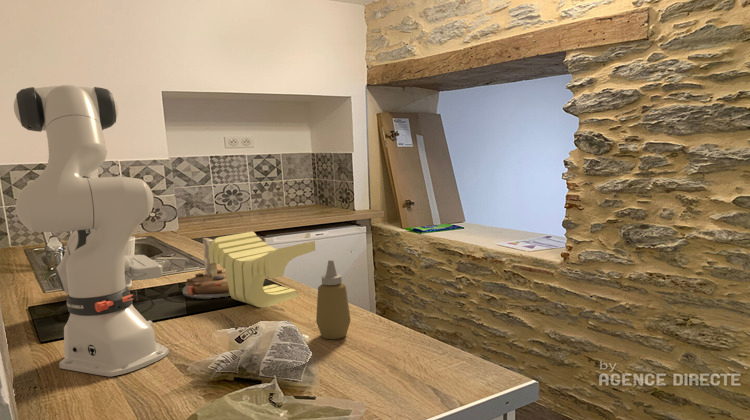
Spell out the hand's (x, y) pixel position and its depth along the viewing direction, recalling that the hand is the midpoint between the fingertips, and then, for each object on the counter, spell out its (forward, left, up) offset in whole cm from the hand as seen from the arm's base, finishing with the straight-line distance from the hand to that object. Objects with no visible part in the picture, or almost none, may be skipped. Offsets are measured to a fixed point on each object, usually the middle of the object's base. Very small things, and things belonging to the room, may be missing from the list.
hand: (169, 262), depth 159 cm
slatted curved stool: (-31, -8, -10) cm, 34 cm away
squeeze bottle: (-67, +6, -10) cm, 68 cm away
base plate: (-10, -10, -10) cm, 17 cm away
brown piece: (-10, -10, -8) cm, 17 cm away
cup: (+23, +3, -10) cm, 25 cm away
